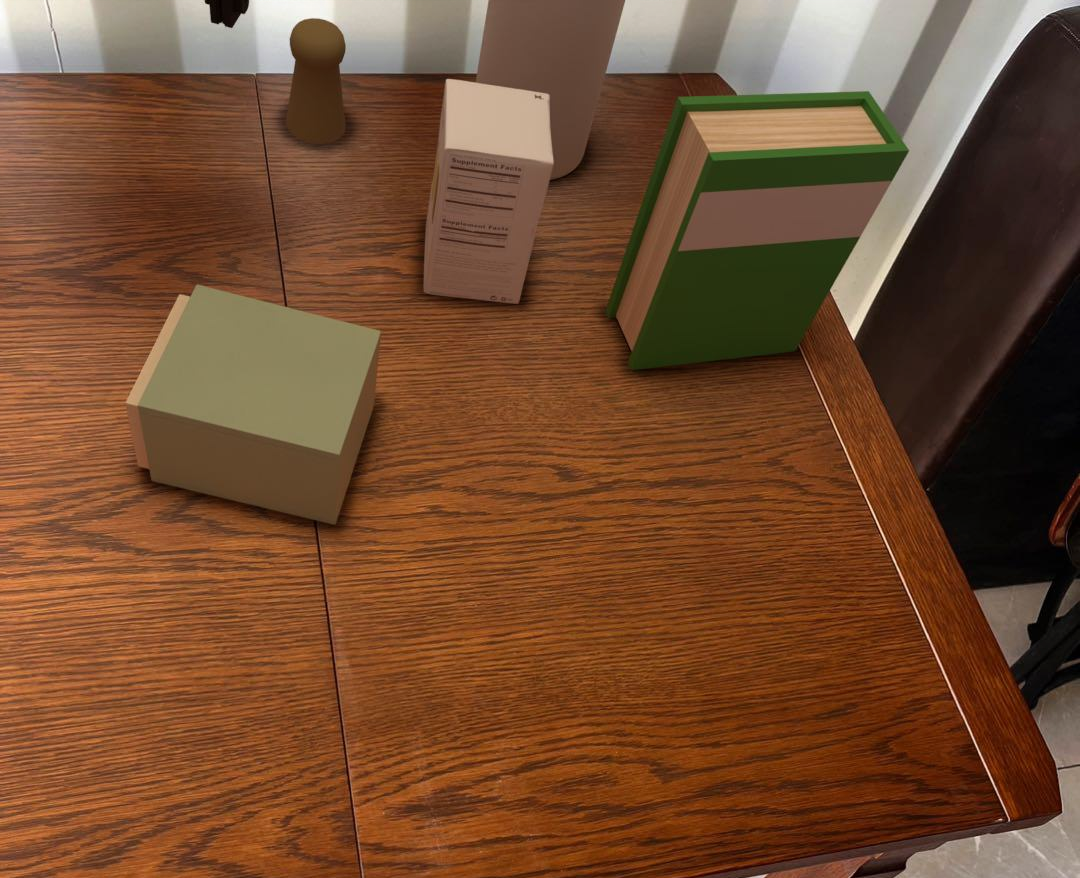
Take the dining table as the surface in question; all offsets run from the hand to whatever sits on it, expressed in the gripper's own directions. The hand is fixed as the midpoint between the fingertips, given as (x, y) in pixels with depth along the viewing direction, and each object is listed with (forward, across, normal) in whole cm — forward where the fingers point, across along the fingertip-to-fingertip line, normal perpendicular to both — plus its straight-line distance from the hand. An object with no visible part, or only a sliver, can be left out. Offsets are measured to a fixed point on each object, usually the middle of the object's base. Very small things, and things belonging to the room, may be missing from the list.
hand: (228, 15), depth 84 cm
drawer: (+20, -8, +24) cm, 32 cm away
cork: (+21, -2, -16) cm, 26 cm away
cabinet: (+21, -10, +24) cm, 33 cm away
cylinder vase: (+21, -23, -22) cm, 39 cm away
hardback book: (+22, -45, -2) cm, 50 cm away
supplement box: (+21, -22, -2) cm, 30 cm away
